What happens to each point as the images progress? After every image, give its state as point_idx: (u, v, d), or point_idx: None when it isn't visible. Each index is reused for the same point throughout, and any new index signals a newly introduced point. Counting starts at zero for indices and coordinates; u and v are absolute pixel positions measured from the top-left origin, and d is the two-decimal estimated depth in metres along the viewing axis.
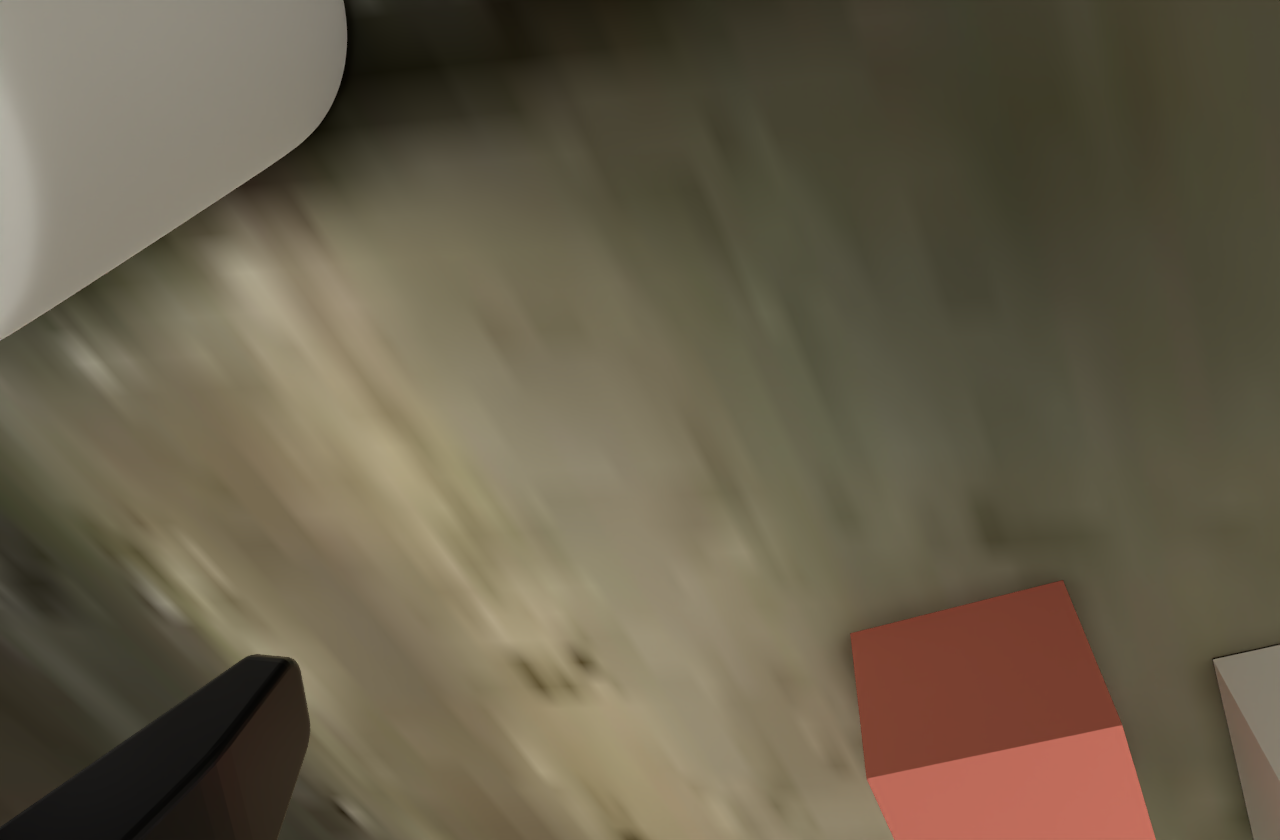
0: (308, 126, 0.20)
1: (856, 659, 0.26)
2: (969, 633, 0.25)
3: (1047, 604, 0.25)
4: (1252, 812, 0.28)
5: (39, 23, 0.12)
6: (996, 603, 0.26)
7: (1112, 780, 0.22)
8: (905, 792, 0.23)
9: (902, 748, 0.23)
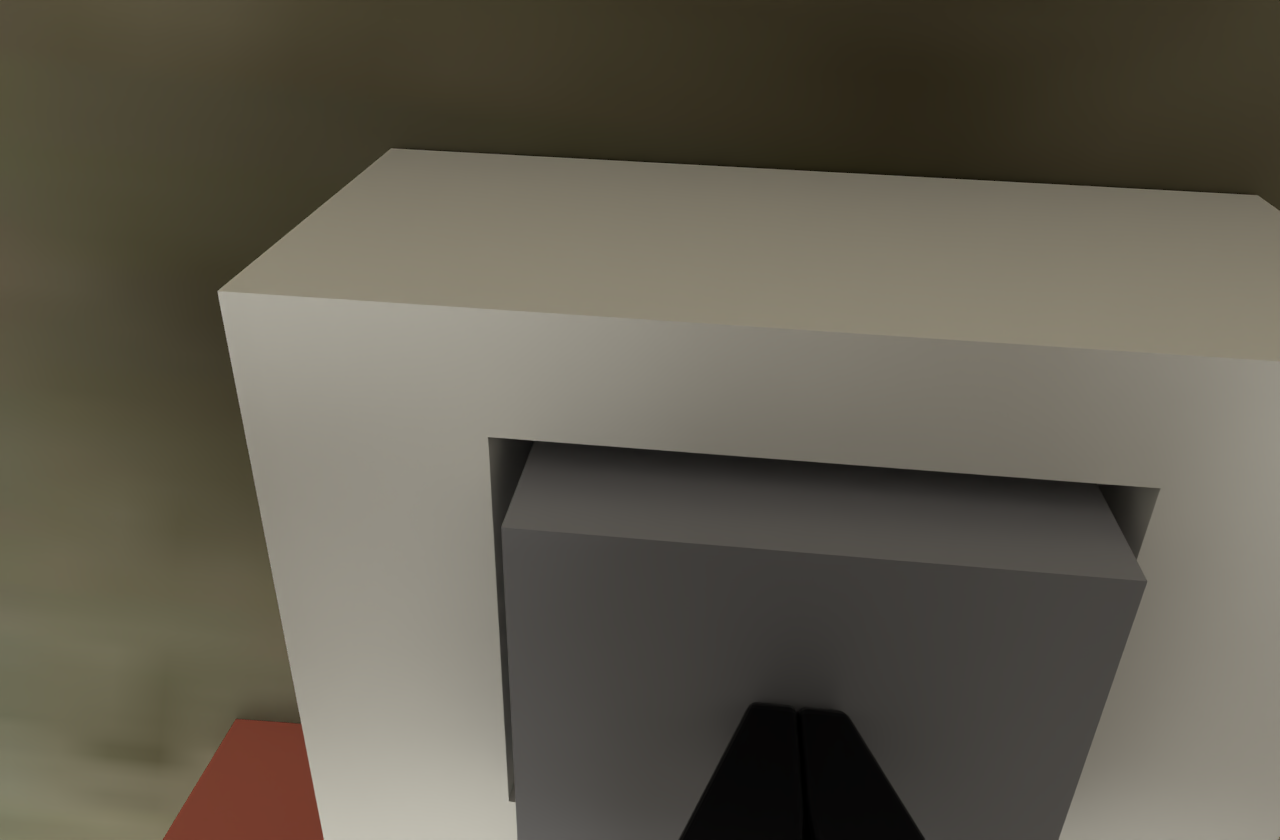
0: None
1: None
2: None
3: None
4: None
5: None
6: None
7: None
8: None
9: None
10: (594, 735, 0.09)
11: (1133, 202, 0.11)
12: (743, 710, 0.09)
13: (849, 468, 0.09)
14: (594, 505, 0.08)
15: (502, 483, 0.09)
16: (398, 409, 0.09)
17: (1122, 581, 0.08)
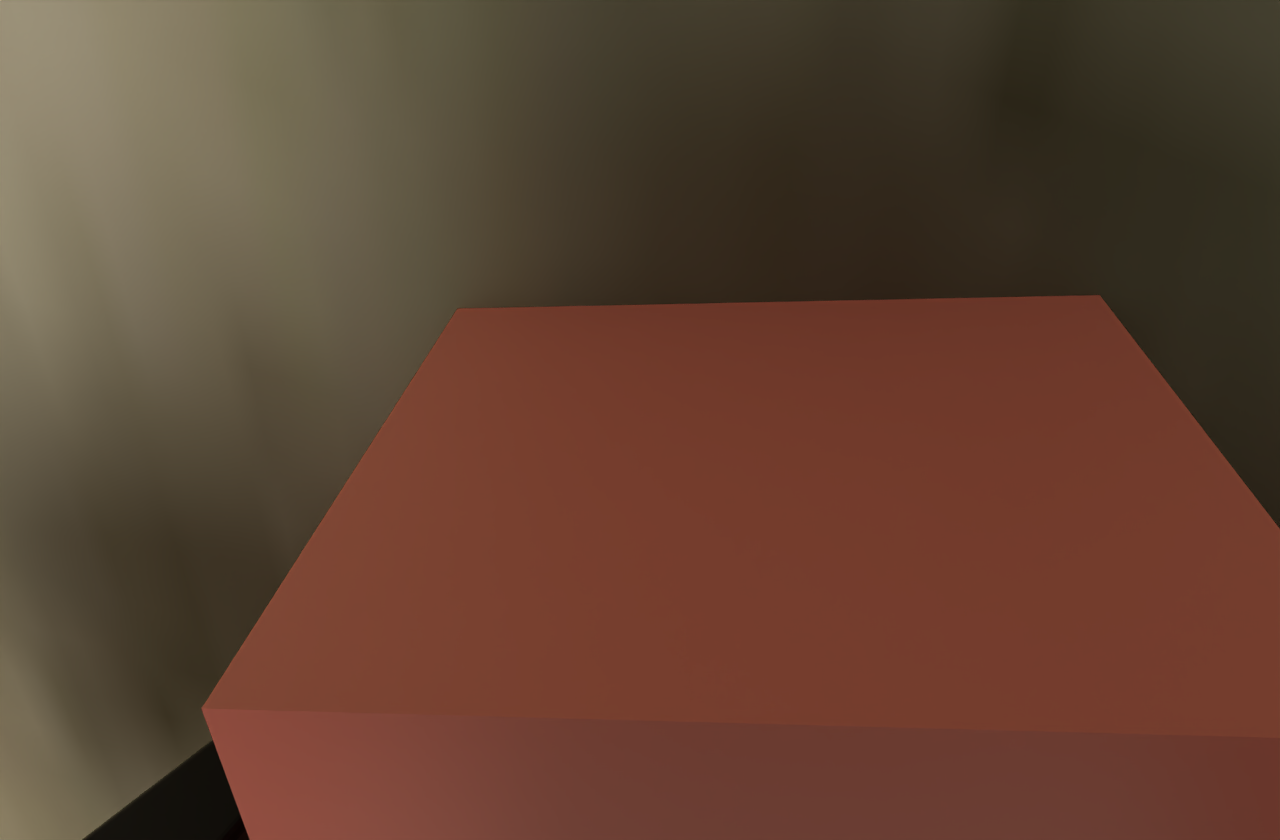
0: None
1: (434, 358, 0.08)
2: (798, 356, 0.08)
3: (1053, 334, 0.08)
4: None
5: None
6: (895, 312, 0.08)
7: None
8: (366, 812, 0.05)
9: (420, 624, 0.05)
10: None
11: None
12: None
13: None
14: None
15: None
16: None
17: None
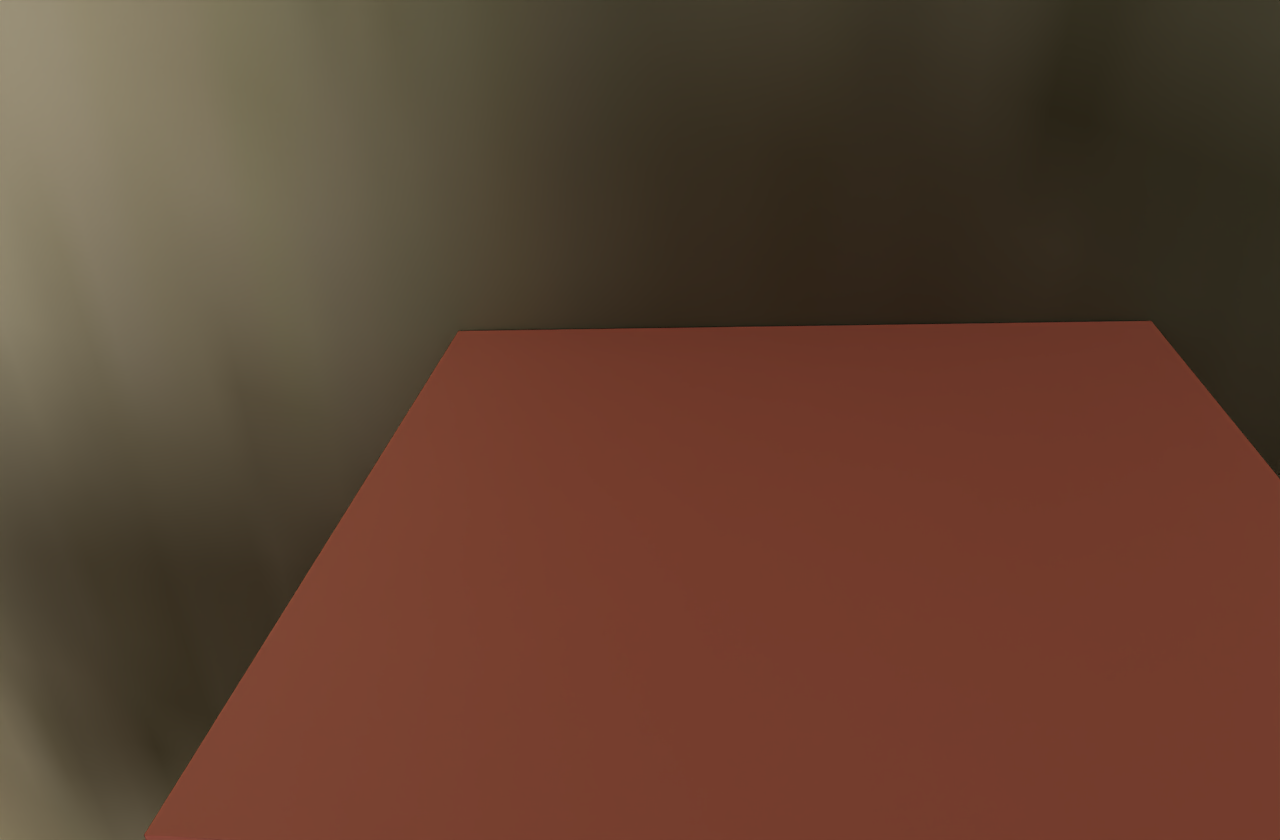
0: None
1: (428, 396, 0.07)
2: (828, 398, 0.07)
3: (1110, 374, 0.07)
4: None
5: None
6: (933, 344, 0.08)
7: None
8: None
9: (401, 729, 0.05)
10: None
11: None
12: None
13: None
14: None
15: None
16: None
17: None
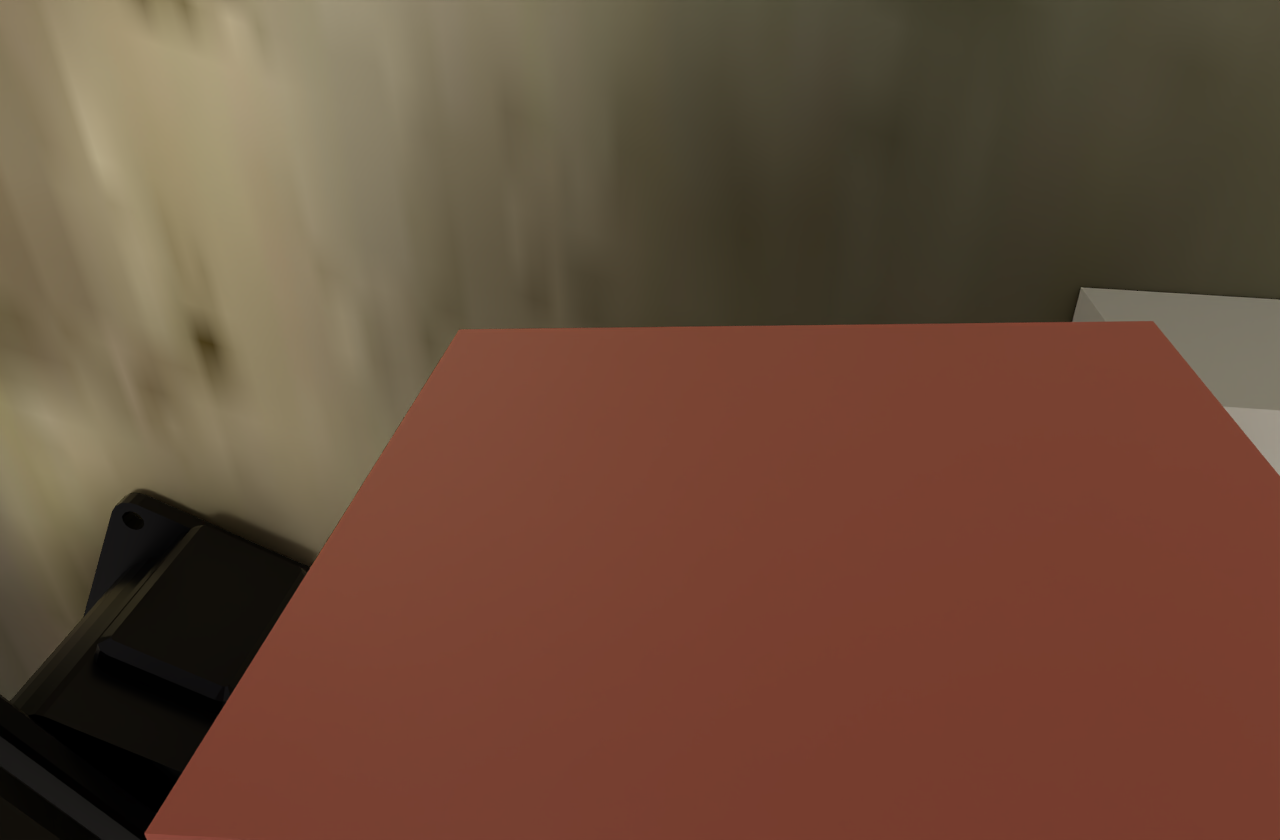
0: None
1: (429, 394, 0.07)
2: (830, 397, 0.07)
3: (1112, 372, 0.07)
4: None
5: None
6: (934, 345, 0.08)
7: None
8: None
9: (403, 726, 0.05)
10: None
11: None
12: None
13: None
14: None
15: None
16: None
17: None
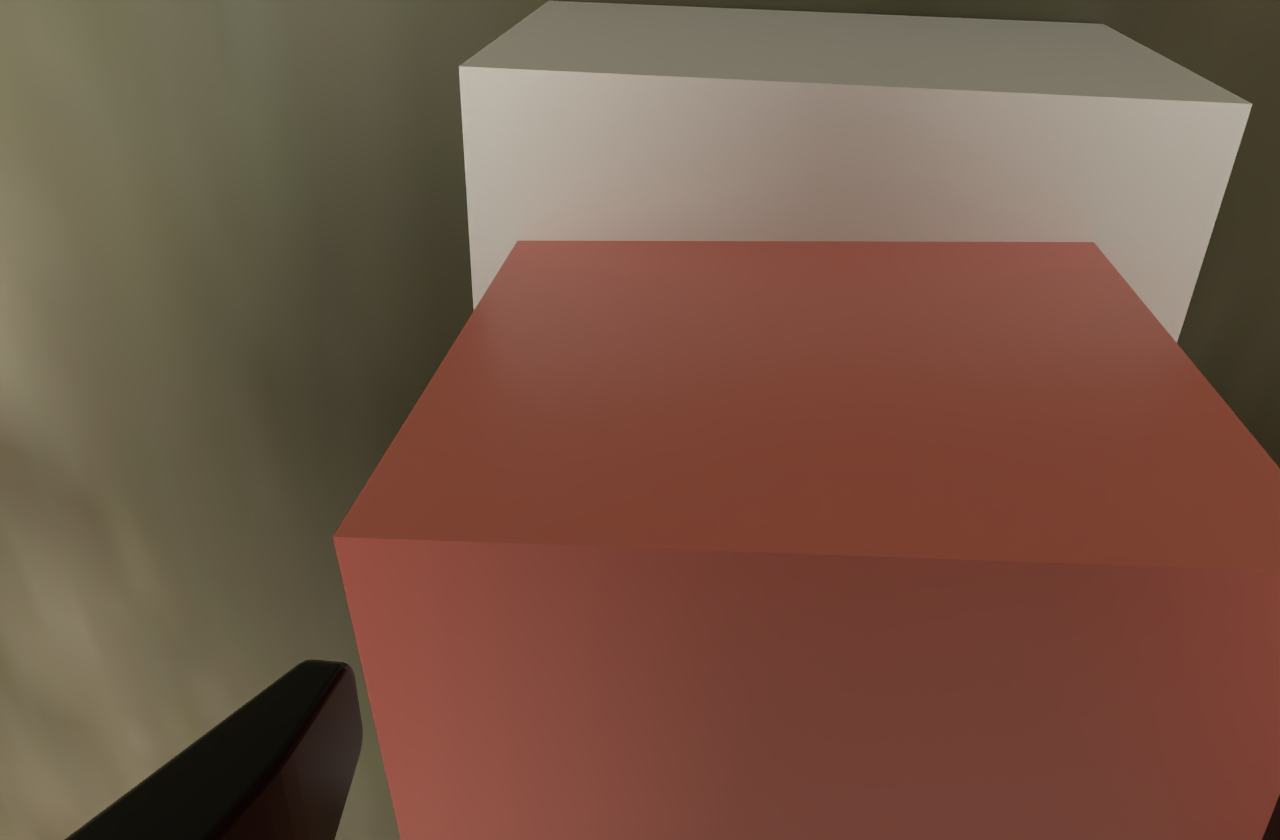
0: None
1: (499, 284, 0.09)
2: (827, 289, 0.09)
3: (1057, 276, 0.09)
4: None
5: None
6: (913, 255, 0.09)
7: (1190, 781, 0.06)
8: (463, 634, 0.06)
9: (511, 481, 0.06)
10: None
11: None
12: None
13: None
14: None
15: None
16: None
17: None
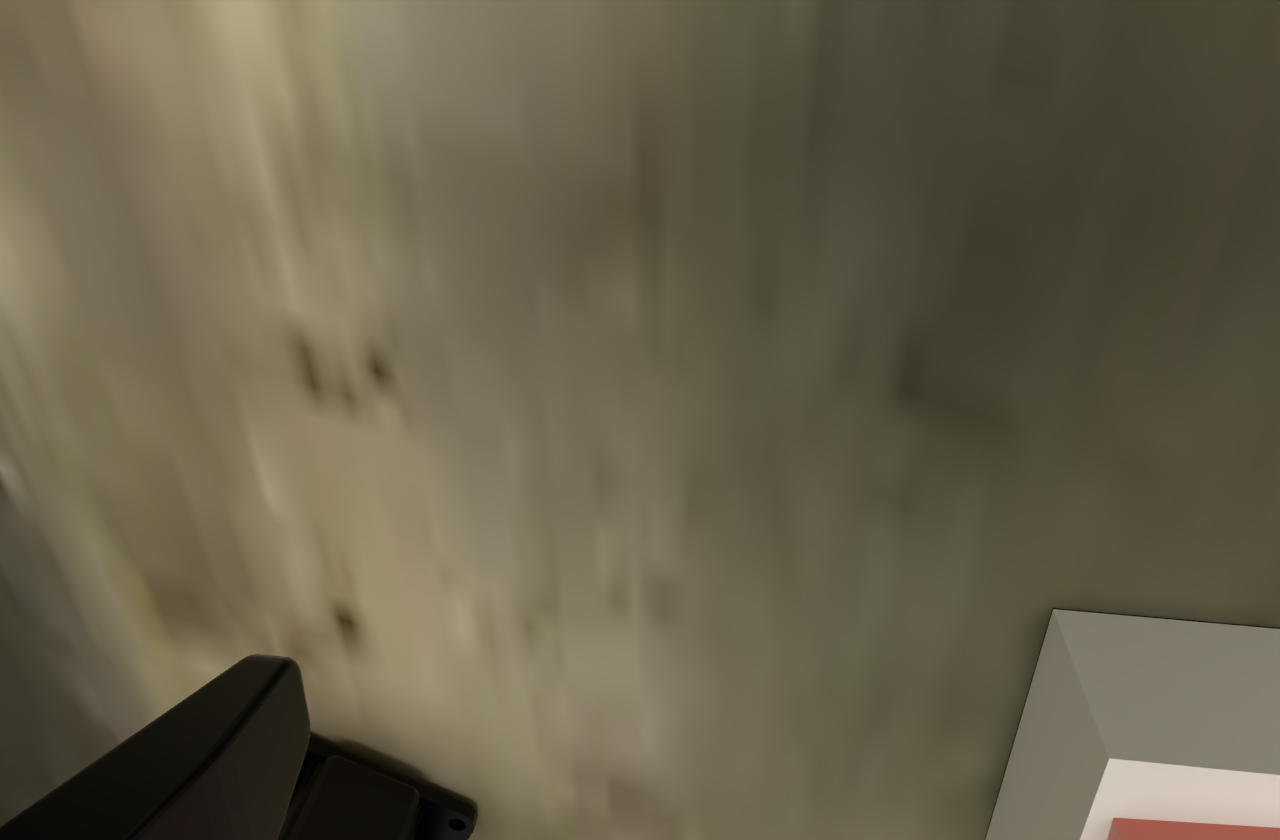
0: None
1: None
2: None
3: None
4: (1012, 783, 0.26)
5: None
6: None
7: None
8: None
9: None
10: None
11: None
12: None
13: None
14: None
15: None
16: None
17: None
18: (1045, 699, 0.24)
